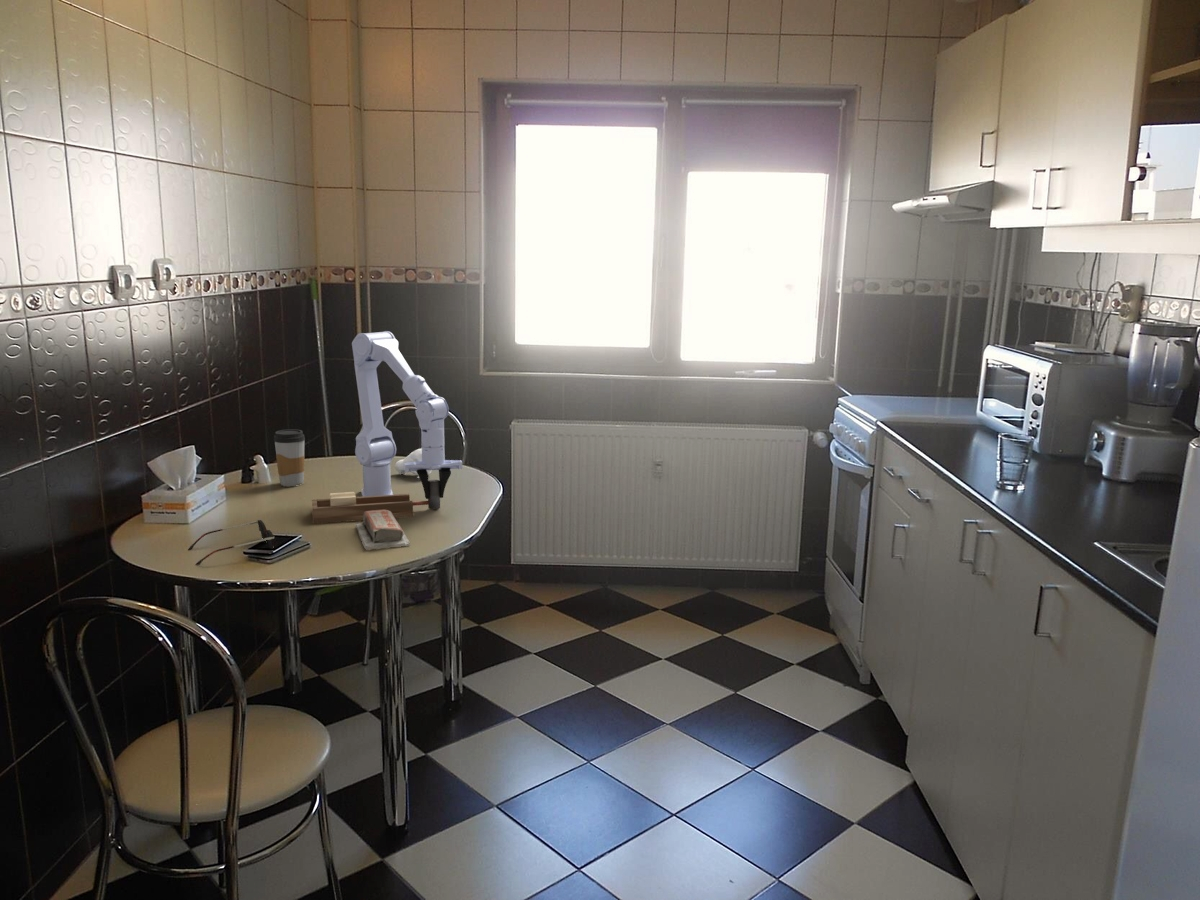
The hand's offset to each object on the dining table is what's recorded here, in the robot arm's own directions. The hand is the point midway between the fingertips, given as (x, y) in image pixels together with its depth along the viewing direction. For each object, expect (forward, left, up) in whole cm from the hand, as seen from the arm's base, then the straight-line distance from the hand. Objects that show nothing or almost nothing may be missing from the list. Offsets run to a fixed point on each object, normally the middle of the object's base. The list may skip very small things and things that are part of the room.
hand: (434, 497), depth 231 cm
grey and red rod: (0, -12, -3) cm, 12 cm away
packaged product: (+19, -15, -4) cm, 25 cm away
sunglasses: (+21, -47, -4) cm, 52 cm away
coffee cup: (-35, -35, -3) cm, 50 cm away
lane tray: (0, -18, -3) cm, 18 cm away
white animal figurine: (-36, -1, -3) cm, 36 cm away
